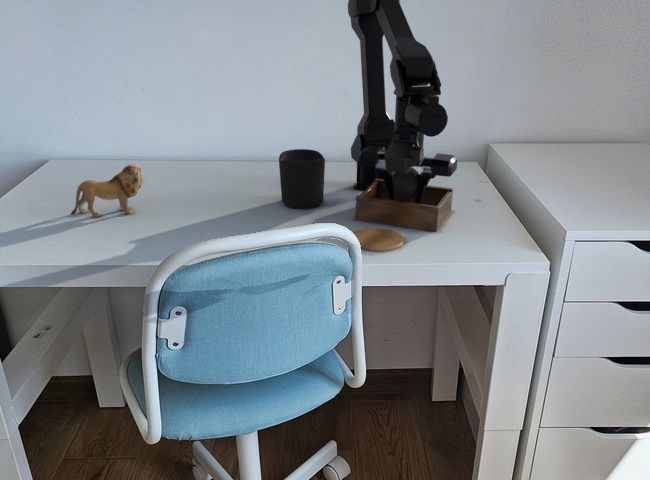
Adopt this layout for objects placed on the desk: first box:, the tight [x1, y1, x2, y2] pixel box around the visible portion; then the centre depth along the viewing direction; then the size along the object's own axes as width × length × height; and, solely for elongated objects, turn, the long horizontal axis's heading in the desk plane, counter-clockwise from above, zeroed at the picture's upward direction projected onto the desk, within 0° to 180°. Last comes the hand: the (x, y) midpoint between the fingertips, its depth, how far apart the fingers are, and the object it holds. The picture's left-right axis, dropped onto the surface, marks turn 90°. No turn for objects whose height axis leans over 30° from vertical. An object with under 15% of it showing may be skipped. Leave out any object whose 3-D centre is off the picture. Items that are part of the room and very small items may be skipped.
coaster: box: [352, 227, 405, 252], centre depth 130 cm, size 10×10×1 cm
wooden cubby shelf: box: [355, 179, 454, 232], centre depth 141 cm, size 17×13×5 cm
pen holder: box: [278, 148, 326, 210], centre depth 145 cm, size 9×9×10 cm
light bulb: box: [392, 167, 420, 203], centre depth 139 cm, size 6×6×10 cm
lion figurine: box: [70, 164, 144, 218], centre depth 137 cm, size 15×5×9 cm, turn 116°
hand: (404, 203), depth 141 cm, fingers closed on light bulb, 5 cm apart
